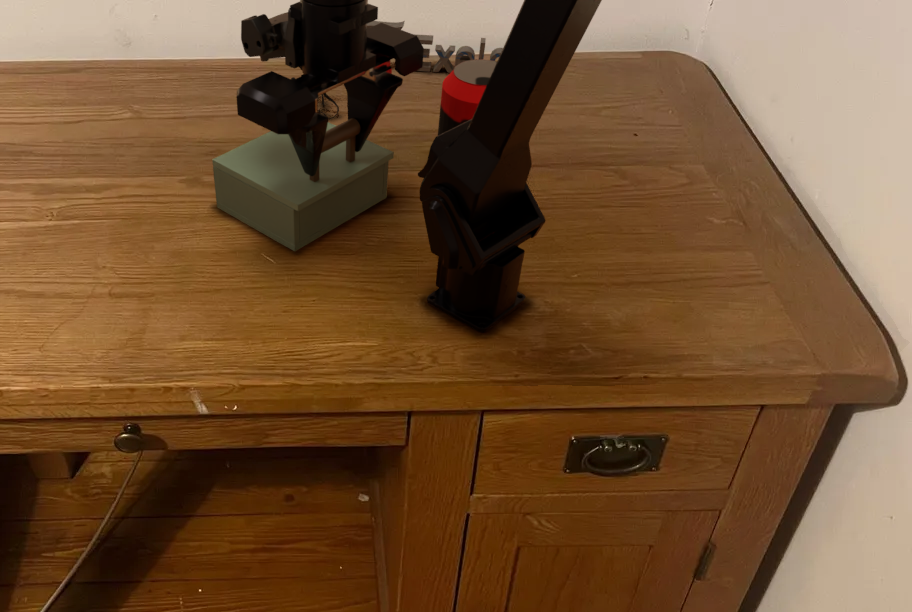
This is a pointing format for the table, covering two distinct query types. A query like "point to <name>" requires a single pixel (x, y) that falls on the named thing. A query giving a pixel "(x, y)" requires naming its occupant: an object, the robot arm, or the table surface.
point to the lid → (282, 175)
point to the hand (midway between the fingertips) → (333, 161)
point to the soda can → (463, 92)
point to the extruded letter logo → (441, 53)
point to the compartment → (309, 221)
